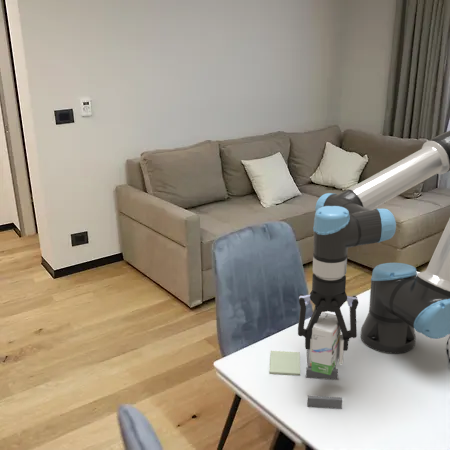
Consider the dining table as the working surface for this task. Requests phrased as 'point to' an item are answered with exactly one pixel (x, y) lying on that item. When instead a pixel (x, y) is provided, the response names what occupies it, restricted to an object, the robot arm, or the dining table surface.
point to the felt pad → (285, 363)
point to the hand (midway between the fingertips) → (325, 360)
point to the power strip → (322, 400)
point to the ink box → (325, 343)
